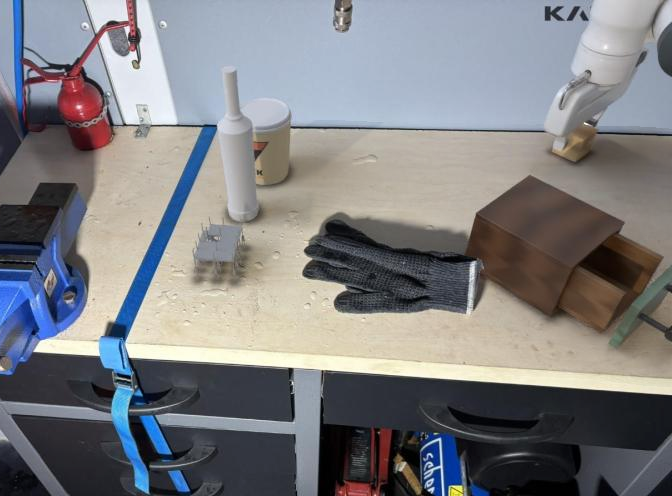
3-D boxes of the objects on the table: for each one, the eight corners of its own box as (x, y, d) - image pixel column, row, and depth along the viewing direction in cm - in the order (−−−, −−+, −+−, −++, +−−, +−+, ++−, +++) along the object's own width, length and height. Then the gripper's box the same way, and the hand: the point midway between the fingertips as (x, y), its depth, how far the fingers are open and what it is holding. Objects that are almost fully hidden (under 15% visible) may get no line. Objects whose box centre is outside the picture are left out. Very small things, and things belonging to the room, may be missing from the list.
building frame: (195, 280, 90) (190, 251, 86) (207, 244, 95) (202, 214, 91) (237, 283, 89) (233, 253, 85) (246, 246, 95) (243, 217, 90)
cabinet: (599, 272, 87) (625, 221, 80) (549, 317, 82) (572, 267, 75) (513, 224, 95) (529, 174, 88) (462, 262, 90) (475, 212, 83)
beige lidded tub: (230, 171, 108) (223, 110, 99) (270, 150, 112) (267, 90, 103) (262, 195, 103) (257, 133, 94) (303, 173, 107) (303, 112, 98)
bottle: (258, 222, 98) (246, 77, 80) (227, 223, 99) (208, 79, 80) (259, 202, 102) (248, 59, 83) (229, 203, 102) (211, 60, 84)
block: (565, 141, 109) (574, 119, 106) (589, 152, 107) (598, 129, 104) (551, 151, 108) (559, 129, 104) (574, 162, 105) (583, 139, 102)
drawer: (697, 324, 79) (727, 283, 73) (653, 372, 74) (682, 332, 69) (570, 254, 89) (588, 212, 83) (524, 292, 84) (540, 251, 78)
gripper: (586, 92, 89) (556, 170, 99) (655, 47, 97) (621, 123, 107) (548, 77, 92) (523, 154, 102) (617, 34, 101) (588, 109, 111)
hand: (574, 137), depth 105 cm, fingers open, 8 cm apart
